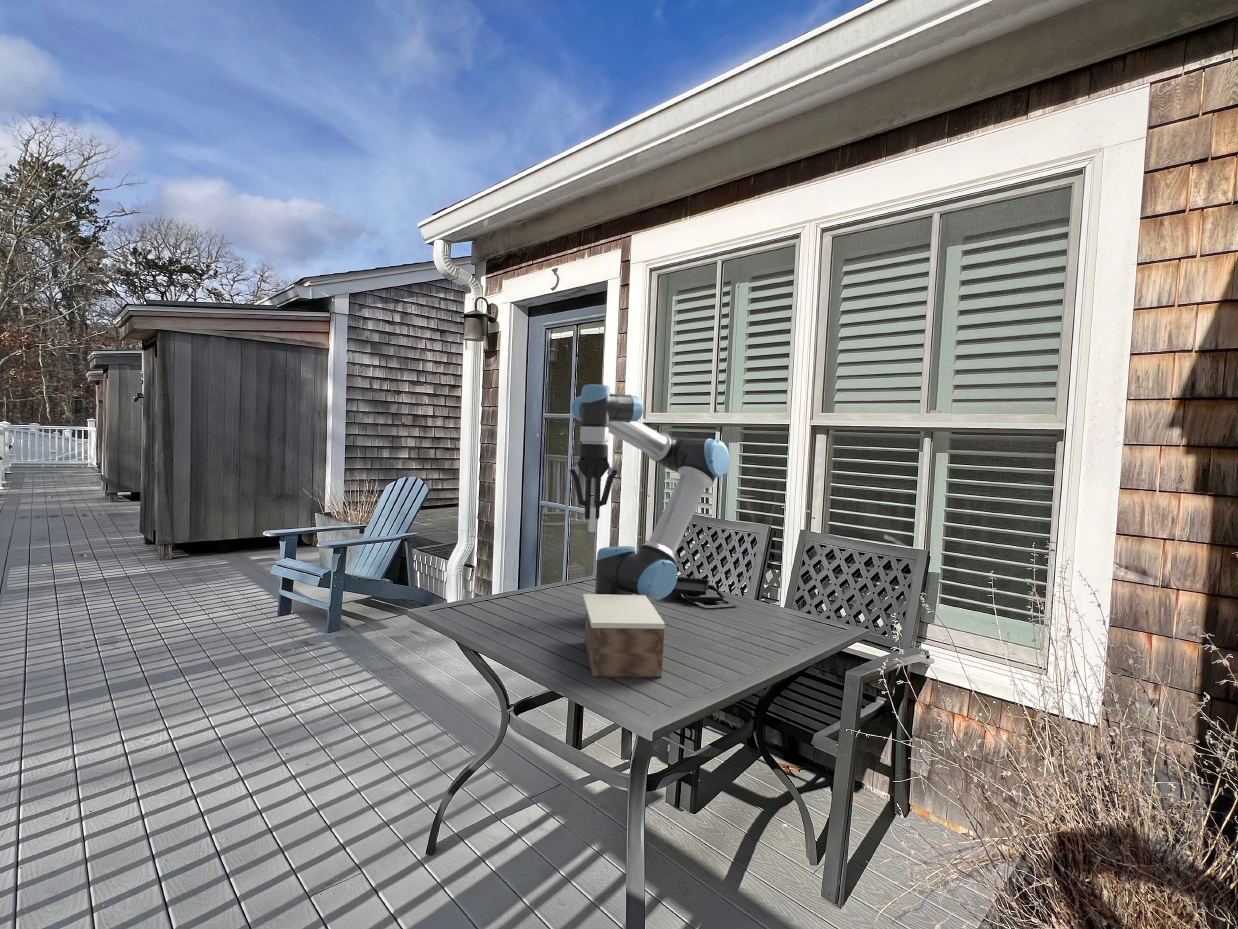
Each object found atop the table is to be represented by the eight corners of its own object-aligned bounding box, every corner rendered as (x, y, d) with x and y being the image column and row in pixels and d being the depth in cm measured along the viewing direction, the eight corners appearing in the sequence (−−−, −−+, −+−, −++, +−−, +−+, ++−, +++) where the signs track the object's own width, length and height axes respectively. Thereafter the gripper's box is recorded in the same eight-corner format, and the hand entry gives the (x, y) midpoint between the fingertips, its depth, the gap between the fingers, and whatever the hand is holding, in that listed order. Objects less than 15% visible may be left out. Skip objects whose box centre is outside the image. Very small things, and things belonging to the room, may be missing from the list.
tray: (749, 606, 229) (749, 591, 229) (699, 614, 215) (700, 598, 215) (692, 588, 253) (693, 574, 253) (644, 593, 240) (645, 579, 240)
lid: (645, 599, 181) (645, 595, 181) (664, 628, 154) (665, 623, 154) (582, 598, 179) (583, 594, 179) (591, 627, 151) (591, 622, 151)
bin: (643, 642, 181) (645, 600, 180) (661, 677, 155) (664, 628, 154) (584, 642, 179) (586, 598, 178) (592, 677, 153) (595, 627, 152)
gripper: (615, 443, 178) (612, 528, 179) (567, 442, 175) (565, 529, 177) (621, 444, 171) (618, 533, 172) (571, 442, 168) (569, 533, 169)
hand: (591, 531), depth 174 cm, fingers closed
